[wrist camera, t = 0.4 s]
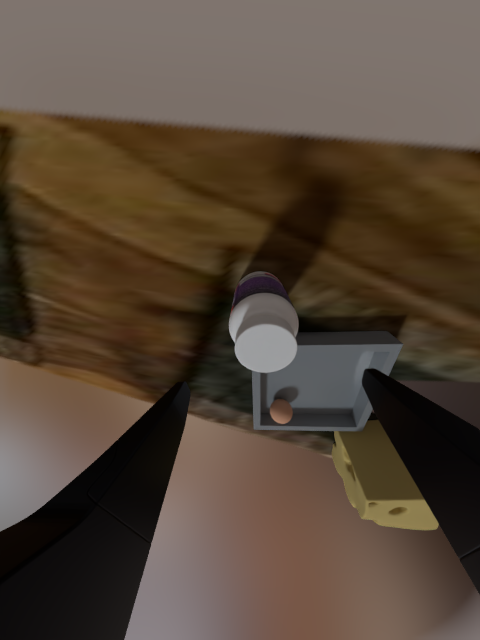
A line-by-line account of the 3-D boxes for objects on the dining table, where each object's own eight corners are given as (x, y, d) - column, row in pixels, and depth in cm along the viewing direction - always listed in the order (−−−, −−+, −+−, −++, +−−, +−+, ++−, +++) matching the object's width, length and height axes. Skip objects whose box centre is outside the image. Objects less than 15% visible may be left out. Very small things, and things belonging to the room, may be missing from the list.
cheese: (330, 452, 35) (357, 530, 26) (332, 419, 30) (366, 501, 21) (388, 450, 33) (437, 531, 25) (401, 414, 28) (468, 500, 20)
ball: (291, 394, 26) (295, 414, 24) (289, 408, 28) (293, 428, 25) (269, 394, 27) (271, 414, 24) (268, 407, 28) (270, 428, 25)
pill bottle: (226, 282, 19) (208, 331, 11) (274, 261, 18) (294, 298, 10) (247, 322, 22) (244, 388, 13) (290, 306, 20) (319, 368, 12)
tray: (386, 330, 21) (403, 344, 19) (353, 414, 29) (362, 431, 27) (251, 333, 22) (251, 346, 20) (253, 413, 30) (253, 429, 28)
